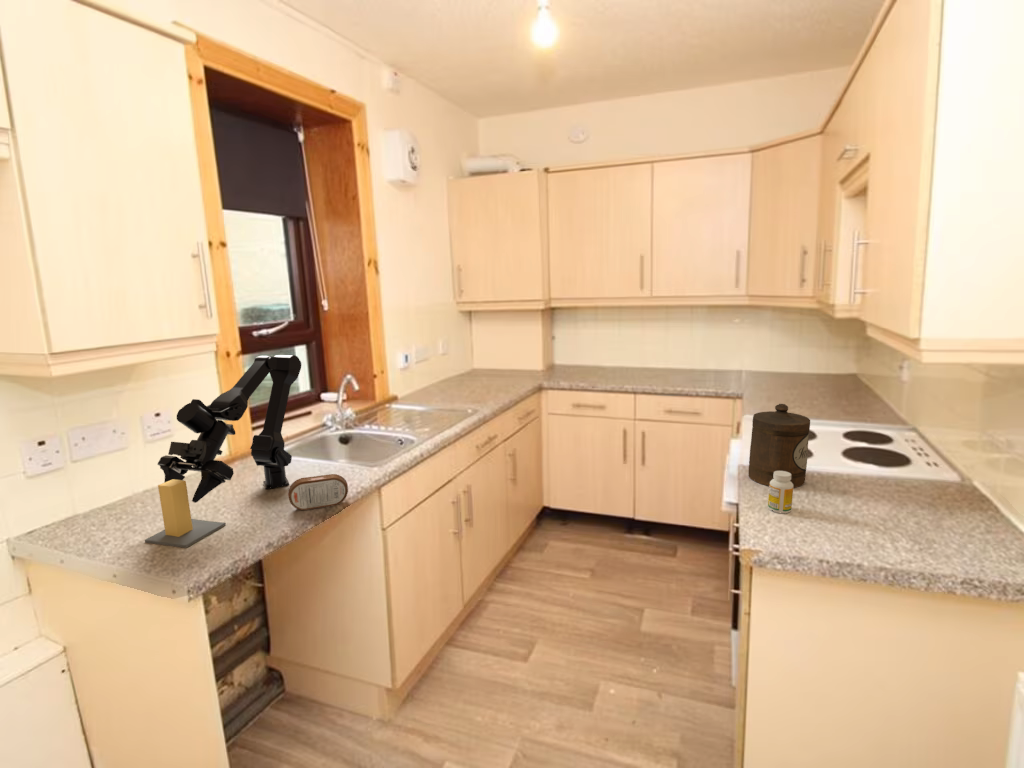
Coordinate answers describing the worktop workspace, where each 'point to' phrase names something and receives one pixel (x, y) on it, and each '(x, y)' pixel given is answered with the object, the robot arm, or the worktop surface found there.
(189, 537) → the charcoal mat
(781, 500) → the supplement bottle
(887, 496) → the worktop surface
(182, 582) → the worktop surface
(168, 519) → the ochre post
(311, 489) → the tin
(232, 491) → the worktop surface
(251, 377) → the robot arm
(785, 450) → the wooden container
